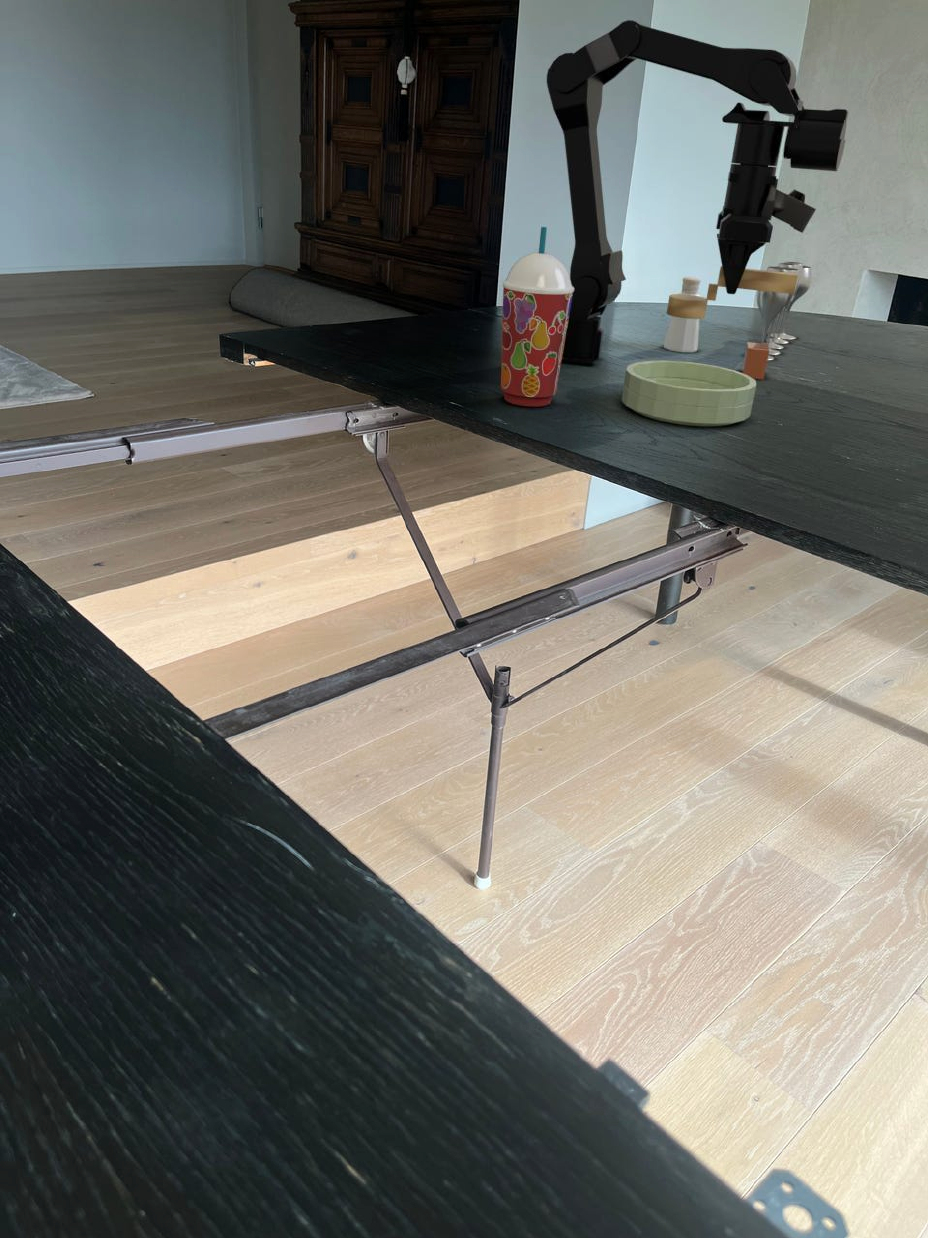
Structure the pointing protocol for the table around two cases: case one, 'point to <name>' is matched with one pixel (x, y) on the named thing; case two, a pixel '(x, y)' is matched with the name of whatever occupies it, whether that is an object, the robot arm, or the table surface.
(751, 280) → the wooden z bracket
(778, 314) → the goblet set
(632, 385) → the bowl
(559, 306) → the smoothie
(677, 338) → the salt shaker
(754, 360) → the orange upright block
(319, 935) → the table surface
